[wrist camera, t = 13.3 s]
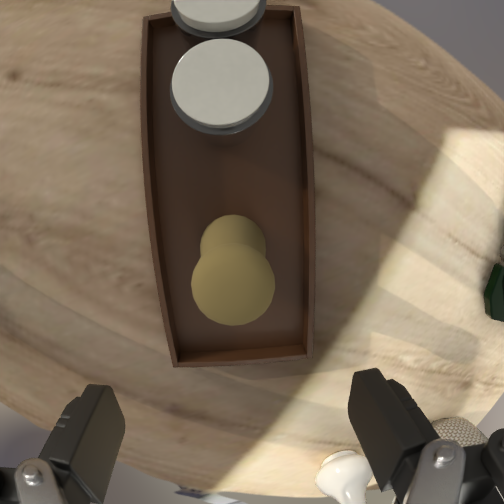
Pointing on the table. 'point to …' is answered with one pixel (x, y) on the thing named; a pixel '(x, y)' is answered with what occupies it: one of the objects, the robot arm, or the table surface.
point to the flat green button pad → (495, 291)
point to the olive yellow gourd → (233, 272)
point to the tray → (232, 198)
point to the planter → (459, 431)
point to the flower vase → (345, 477)
